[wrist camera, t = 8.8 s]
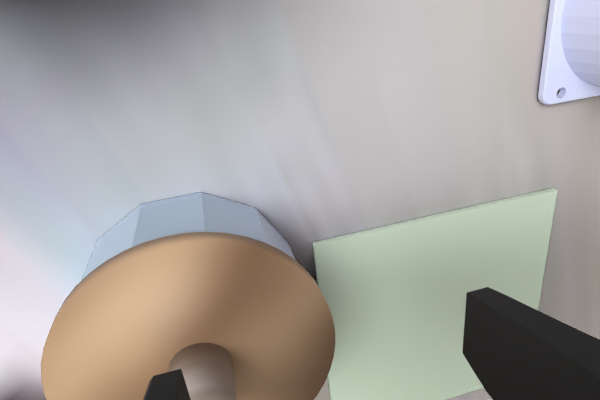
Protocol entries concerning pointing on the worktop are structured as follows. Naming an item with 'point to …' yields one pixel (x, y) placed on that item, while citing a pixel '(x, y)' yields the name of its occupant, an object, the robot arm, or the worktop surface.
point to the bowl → (184, 224)
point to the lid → (192, 324)
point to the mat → (425, 294)
